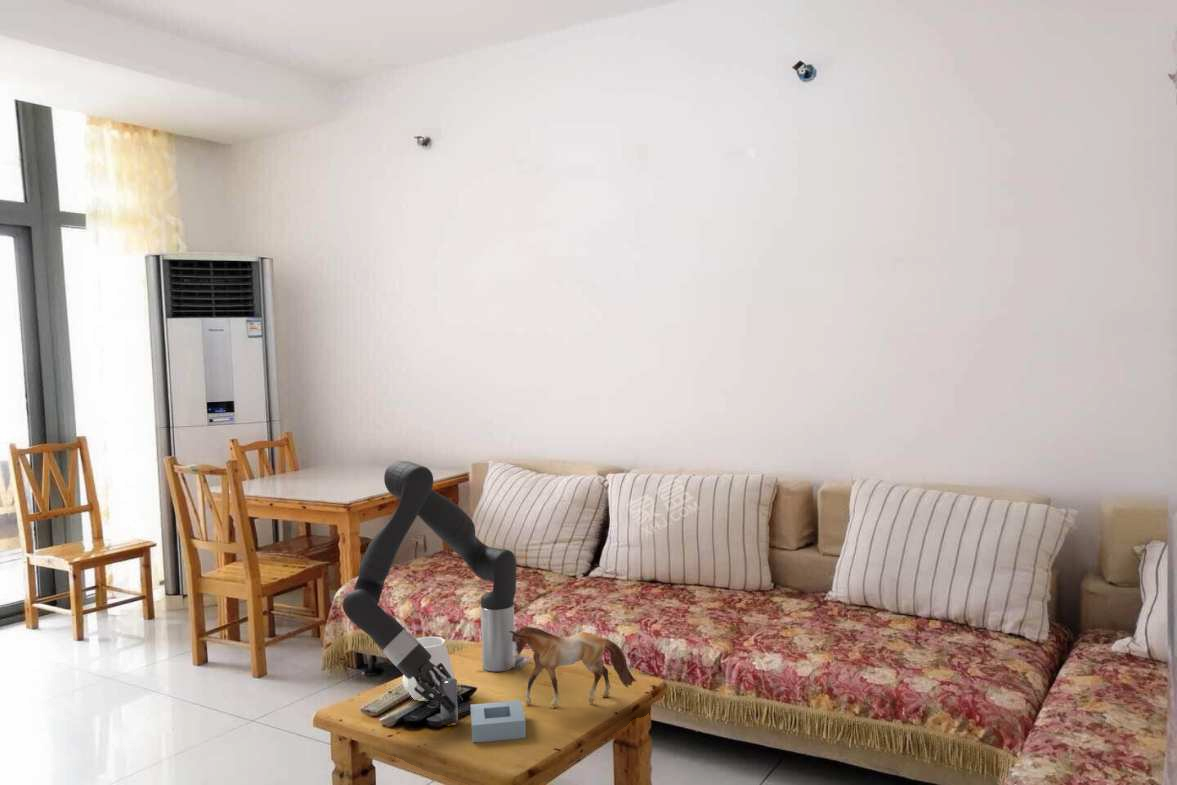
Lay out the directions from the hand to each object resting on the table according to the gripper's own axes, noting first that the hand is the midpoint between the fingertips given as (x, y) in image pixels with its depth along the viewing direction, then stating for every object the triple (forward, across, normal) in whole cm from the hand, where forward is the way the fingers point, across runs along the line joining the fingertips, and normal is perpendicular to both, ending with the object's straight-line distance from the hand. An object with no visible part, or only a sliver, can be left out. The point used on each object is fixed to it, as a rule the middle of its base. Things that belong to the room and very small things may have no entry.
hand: (456, 706), depth 206 cm
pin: (+2, 0, +4) cm, 5 cm away
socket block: (+10, -2, -4) cm, 11 cm away
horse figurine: (+21, +13, -15) cm, 29 cm away
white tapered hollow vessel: (-6, +16, +12) cm, 21 cm away
